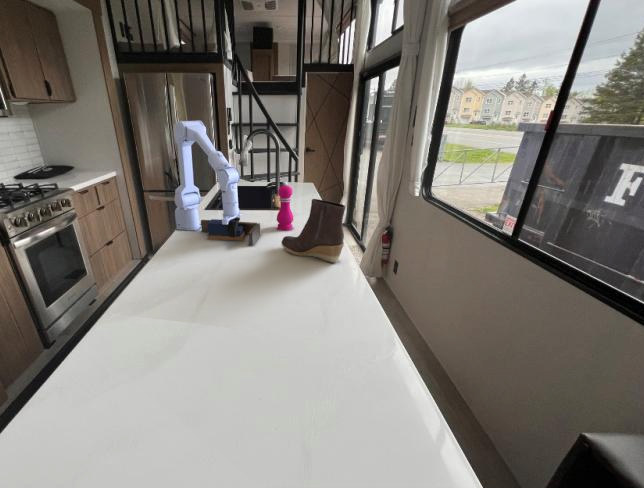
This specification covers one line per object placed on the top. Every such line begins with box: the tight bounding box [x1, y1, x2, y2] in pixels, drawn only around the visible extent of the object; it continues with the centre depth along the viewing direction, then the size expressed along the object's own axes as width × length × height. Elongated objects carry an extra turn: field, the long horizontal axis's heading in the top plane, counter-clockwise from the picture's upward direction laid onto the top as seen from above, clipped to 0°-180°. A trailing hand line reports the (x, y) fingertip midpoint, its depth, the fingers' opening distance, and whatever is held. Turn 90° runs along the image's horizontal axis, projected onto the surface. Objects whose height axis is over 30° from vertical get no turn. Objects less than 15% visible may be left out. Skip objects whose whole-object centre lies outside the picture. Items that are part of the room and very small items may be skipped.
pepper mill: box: [276, 181, 294, 232], centre depth 136 cm, size 7×7×20 cm
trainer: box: [206, 218, 246, 241], centre depth 130 cm, size 14×6×6 cm, turn 82°
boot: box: [281, 198, 347, 264], centre depth 110 cm, size 9×24×20 cm, turn 53°
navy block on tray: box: [200, 219, 261, 247], centre depth 130 cm, size 26×13×5 cm, turn 78°
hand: (232, 236), depth 125 cm, fingers closed
